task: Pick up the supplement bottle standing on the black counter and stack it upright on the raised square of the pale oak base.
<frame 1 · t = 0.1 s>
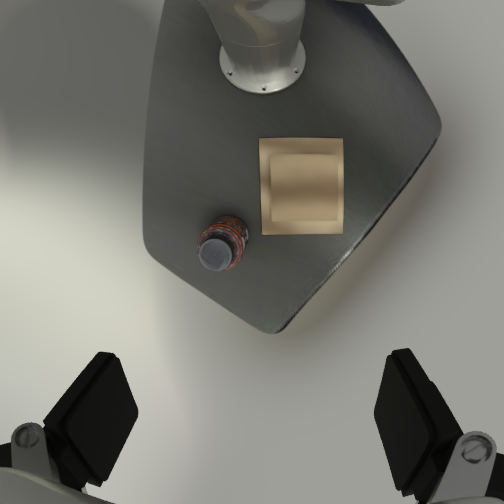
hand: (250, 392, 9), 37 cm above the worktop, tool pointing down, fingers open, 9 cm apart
supplement bottle: (229, 233, 46), on the worktop
oak base: (302, 185, 43), on the worktop
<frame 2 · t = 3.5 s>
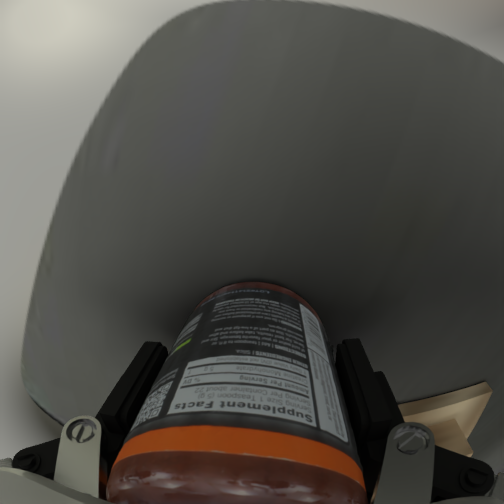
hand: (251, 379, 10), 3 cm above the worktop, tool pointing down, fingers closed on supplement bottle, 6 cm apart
supplement bottle: (256, 337, 13), on the worktop, touching gripper
oak base: (369, 463, 15), on the worktop
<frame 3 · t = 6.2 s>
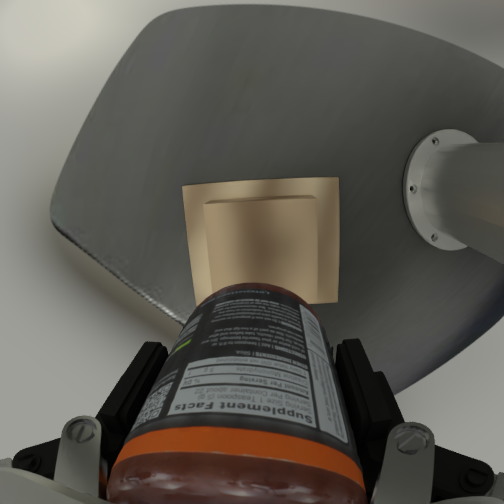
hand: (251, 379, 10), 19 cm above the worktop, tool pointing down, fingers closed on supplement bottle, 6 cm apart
supplement bottle: (256, 338, 13), point 16 cm above the worktop, touching gripper
oak base: (263, 243, 28), on the worktop
when the fingers open (8 cm above the worktop, at t = 9.1 s): supplement bottle drops 1 cm, resting on oak base.
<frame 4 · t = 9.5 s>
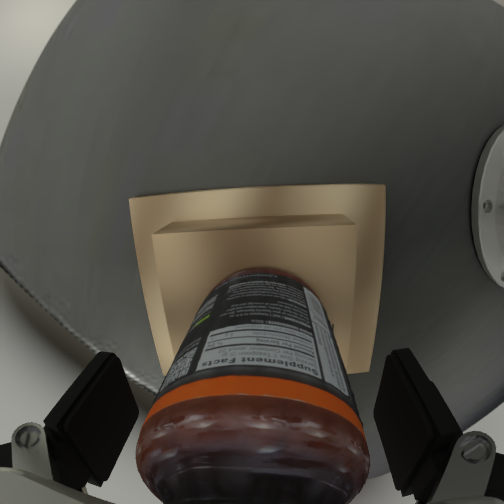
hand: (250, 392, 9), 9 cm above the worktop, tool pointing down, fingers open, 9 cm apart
supplement bottle: (263, 321, 14), point 4 cm above the worktop, touching oak base
oak base: (260, 289, 18), on the worktop
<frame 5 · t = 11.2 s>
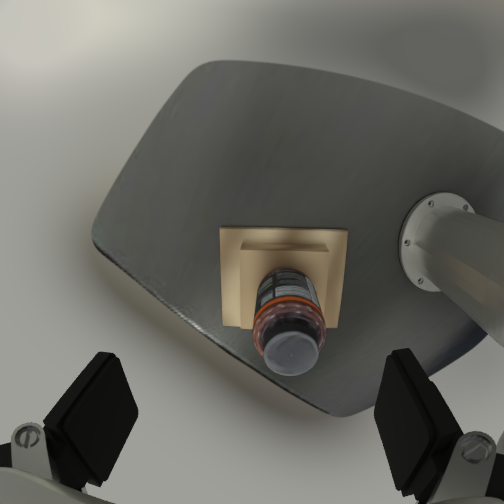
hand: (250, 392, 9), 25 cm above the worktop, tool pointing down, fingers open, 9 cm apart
supplement bottle: (285, 291, 31), point 4 cm above the worktop, touching oak base
oak base: (282, 278, 35), on the worktop
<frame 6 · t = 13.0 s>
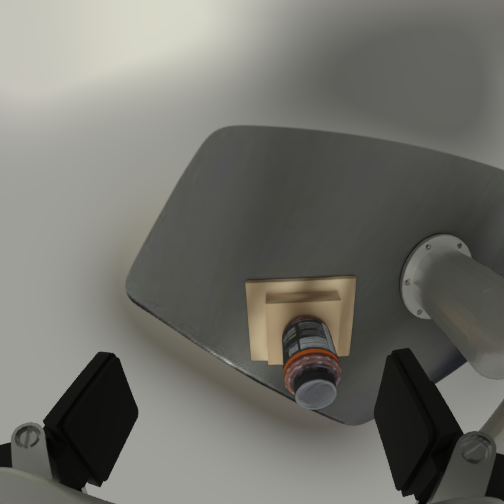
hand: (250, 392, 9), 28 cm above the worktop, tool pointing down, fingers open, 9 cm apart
supplement bottle: (305, 333, 36), point 4 cm above the worktop, touching oak base
oak base: (300, 319, 40), on the worktop
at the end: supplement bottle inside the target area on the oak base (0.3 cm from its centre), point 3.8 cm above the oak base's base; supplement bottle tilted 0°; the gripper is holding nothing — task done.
